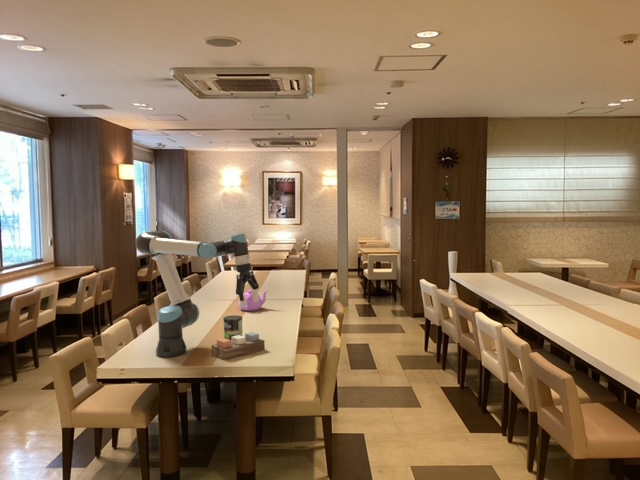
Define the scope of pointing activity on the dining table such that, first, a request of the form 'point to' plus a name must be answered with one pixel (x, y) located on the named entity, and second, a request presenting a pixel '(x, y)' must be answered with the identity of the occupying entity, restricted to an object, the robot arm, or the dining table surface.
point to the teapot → (252, 302)
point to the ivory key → (238, 339)
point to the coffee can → (232, 326)
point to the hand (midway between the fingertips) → (250, 304)
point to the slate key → (252, 336)
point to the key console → (238, 349)
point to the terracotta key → (224, 343)
